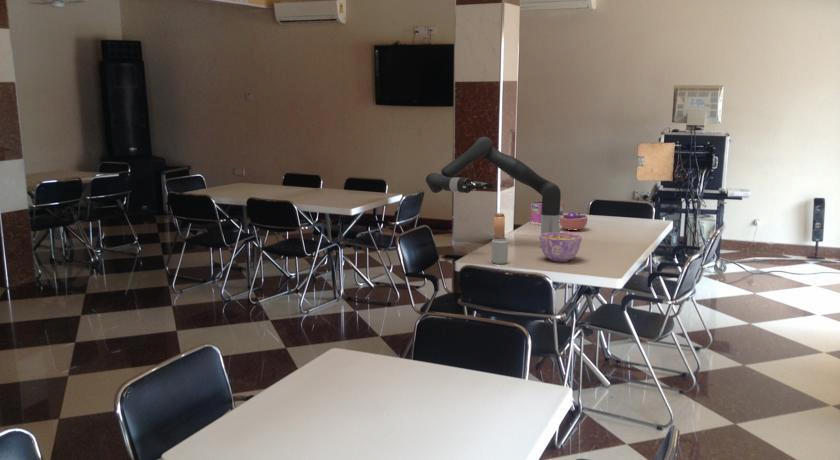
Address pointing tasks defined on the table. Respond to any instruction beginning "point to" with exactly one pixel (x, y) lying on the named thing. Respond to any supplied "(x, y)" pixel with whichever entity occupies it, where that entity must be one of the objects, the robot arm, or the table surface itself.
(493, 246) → the can
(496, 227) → the jar
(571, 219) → the cell model
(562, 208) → the gum box
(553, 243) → the bowl of food
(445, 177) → the robot arm
